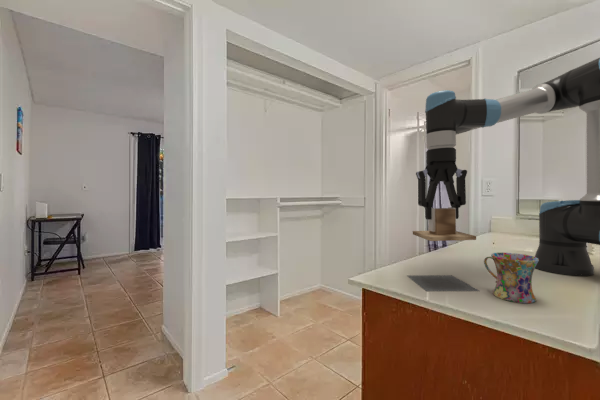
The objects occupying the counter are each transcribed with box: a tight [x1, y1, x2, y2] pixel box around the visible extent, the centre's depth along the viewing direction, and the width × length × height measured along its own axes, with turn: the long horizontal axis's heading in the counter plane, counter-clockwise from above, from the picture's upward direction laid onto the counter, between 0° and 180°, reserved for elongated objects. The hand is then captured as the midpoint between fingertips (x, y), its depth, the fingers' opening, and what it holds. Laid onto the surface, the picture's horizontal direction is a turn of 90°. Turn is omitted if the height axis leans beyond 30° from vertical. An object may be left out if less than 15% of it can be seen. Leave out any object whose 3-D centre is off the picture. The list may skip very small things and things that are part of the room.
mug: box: [483, 252, 539, 304], centre depth 70 cm, size 12×9×11 cm
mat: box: [406, 274, 480, 292], centre depth 81 cm, size 14×14×1 cm
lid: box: [412, 207, 477, 242], centre depth 80 cm, size 12×12×8 cm
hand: (442, 230), depth 80 cm, fingers closed on lid, 5 cm apart
